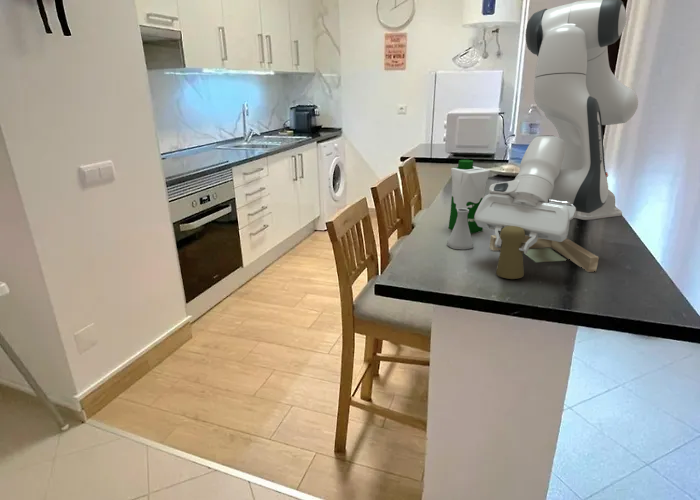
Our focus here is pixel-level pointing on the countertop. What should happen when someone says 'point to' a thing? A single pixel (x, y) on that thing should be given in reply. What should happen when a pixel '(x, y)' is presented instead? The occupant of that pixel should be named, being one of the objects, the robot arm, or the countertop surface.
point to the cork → (511, 253)
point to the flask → (461, 232)
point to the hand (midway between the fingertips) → (510, 249)
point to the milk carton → (467, 192)
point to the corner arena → (564, 248)
